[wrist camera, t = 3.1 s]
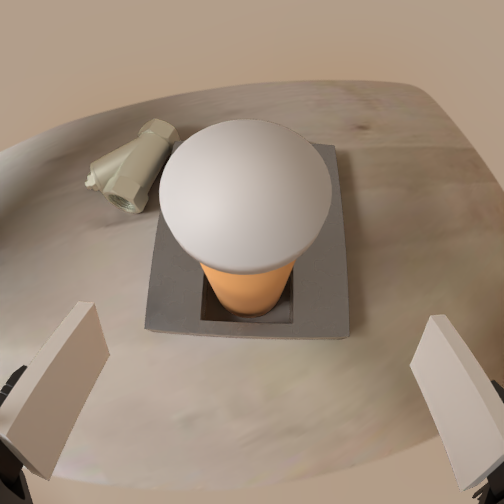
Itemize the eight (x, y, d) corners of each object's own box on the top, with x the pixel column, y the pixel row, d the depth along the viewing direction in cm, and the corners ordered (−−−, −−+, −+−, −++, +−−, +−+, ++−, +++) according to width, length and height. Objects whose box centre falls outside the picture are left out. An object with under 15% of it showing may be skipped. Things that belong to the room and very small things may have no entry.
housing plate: (153, 331, 22) (144, 328, 20) (178, 154, 28) (174, 141, 26) (341, 338, 22) (349, 336, 20) (330, 158, 27) (334, 145, 25)
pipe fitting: (90, 202, 27) (145, 218, 25) (70, 181, 23) (127, 194, 22) (128, 139, 29) (183, 146, 28) (114, 114, 26) (172, 118, 24)
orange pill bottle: (207, 321, 22) (146, 261, 9) (212, 247, 24) (174, 120, 11) (287, 324, 22) (337, 268, 9) (287, 249, 24) (324, 123, 11)
